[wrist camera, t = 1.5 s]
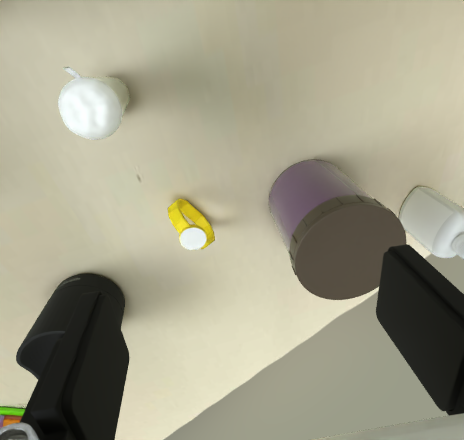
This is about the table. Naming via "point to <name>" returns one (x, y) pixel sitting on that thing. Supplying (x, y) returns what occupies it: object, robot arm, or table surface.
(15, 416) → the dollhouse room
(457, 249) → the eye dropper bottle
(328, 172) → the jar
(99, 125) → the milkshake
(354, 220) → the jar lid
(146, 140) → the table surface
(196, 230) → the watch
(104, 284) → the pen holder
